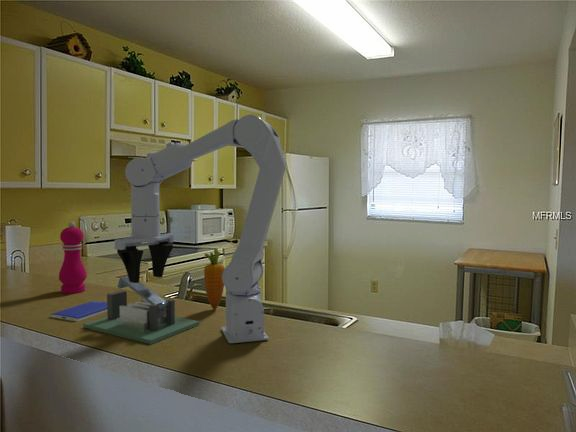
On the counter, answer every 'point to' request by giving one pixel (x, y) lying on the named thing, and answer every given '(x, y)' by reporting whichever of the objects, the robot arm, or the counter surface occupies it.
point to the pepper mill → (72, 261)
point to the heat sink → (139, 316)
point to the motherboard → (147, 336)
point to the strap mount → (121, 299)
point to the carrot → (214, 279)
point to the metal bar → (143, 292)
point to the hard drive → (82, 311)
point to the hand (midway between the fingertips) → (146, 279)
